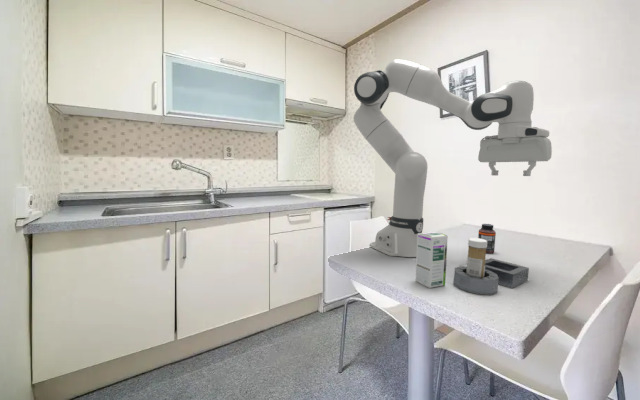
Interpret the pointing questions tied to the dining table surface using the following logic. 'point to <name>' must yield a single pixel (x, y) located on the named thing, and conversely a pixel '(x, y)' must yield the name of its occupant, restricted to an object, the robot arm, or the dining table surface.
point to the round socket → (476, 281)
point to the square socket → (507, 272)
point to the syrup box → (431, 259)
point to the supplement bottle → (488, 236)
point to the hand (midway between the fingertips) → (510, 175)
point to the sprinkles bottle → (476, 257)
